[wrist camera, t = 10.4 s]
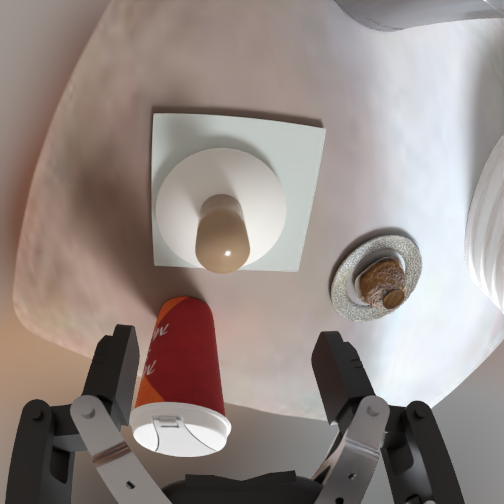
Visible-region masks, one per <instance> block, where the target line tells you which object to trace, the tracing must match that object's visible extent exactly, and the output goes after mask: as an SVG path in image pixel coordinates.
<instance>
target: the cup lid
mask: <svg viewBox="0 0 504 504" xmlns="http://www.w3.org/2000/svg"><path fill="white" fill-rule="evenodd" d="M286 212H287V207H286V198H285V194H284V191H283V188H282V186H281V184H280V182H279V180H278V178H277V177H276V175H275V174H274V173H273V171H272V170H271V169H270V168H269V167H268V165H267V164H266V163H264V162H263V161H262V160H261V159H259V158H258V157H256V156H254V155H253V154H251V153H248V152H246V151H243V150H240V149H236V148H230V147H214V148H207V149H204V150H200V151H197V152H195V153H193V154H191V155H189V156H187V157H186V158H184V159H183V160H181V161H180V162H179V163H178V164H177V165H176V166H175V167H174V168H173V169H172V170H171V171H170V172H169V174H168V175H167V176H166V178H165V180H164V182H163V184H162V186H161V187H160V190H159V193H158V196H157V201H156V220H157V225H158V228H159V231H160V233H161V236H162V237H163V239H164V241H165V242H166V244H167V245H168V246H169V248H170V249H171V250H172V251H173V252H174V253H175V254H176V255H178V256H179V257H180V258H182V259H183V260H185V261H186V262H188V263H190V264H192V265H195V266H198V267H201V268H205V269H207V270H209V271H211V272H215V273H230V272H233V271H235V270H237V269H239V268H240V267H243V266H246V265H248V264H250V263H252V262H254V261H256V260H258V259H259V258H261V257H262V256H263V255H264V254H266V253H267V252H268V251H269V250H270V249H271V248H272V247H273V245H274V244H275V243H276V241H277V240H278V238H279V236H280V235H281V232H282V230H283V227H284V224H285V220H286Z"/></svg>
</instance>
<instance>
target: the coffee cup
mask: <svg viewBox="0 0 504 504" xmlns="http://www.w3.org/2000/svg"><path fill="white" fill-rule="evenodd" d="M129 423H130V425H131V427H132V429H133V436H134V438H135V439H136V441H137V442H139V443H140V444H141V445H142V446H144V447H146V448H147V449H150V450H152V451H156V452H159V453H162V454H167V455H172V456H182V457H195V456H203V455H208V454H211V453H214V452H217V451H219V450H220V449H222V448H223V447H224V445H225V443H226V440H227V436H228V435H229V433H230V430H231V424H230V422H229V421H228V419H227V418H226V417H225V410H224V402H223V395H222V387H221V379H220V370H219V362H218V353H217V345H216V336H215V328H214V320H213V315H212V312H211V310H210V308H209V307H208V306H207V305H206V304H205V303H204V302H202V301H201V300H199V299H196V298H193V297H188V296H180V297H175V298H172V299H170V300H168V301H167V302H165V303H164V305H163V306H162V308H161V310H160V312H159V315H158V318H157V321H156V325H155V328H154V332H153V335H152V339H151V343H150V347H149V351H148V354H147V358H146V362H145V366H144V371H143V375H142V379H141V384H140V388H139V392H138V397H137V401H136V405H135V409H134V410H133V411H132V412H131V413H130V418H129Z"/></svg>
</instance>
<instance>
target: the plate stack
mask: <svg viewBox="0 0 504 504" xmlns="http://www.w3.org/2000/svg"><path fill="white" fill-rule="evenodd" d="M464 252H465V263H466V268H467V271H468V274H469V276H470V278H471V279H472V280H473V282H474V283H475V284H476V285H477V286H478V287H480V288H481V290H482V291H483V292H484V293H485V294H486V295H487V296H488V297H489V298H490V299H491V300H492V301H493V303H494V304H495V305H496V306H497V307H498V308H500V309H501V311H502V313H503V314H504V134H503V135H502V137H501V138H500V139H499V141H498V142H497V143H496V145H495V147H494V148H493V150H492V152H491V154H490V155H489V157H488V159H487V161H486V163H485V166H484V168H483V170H482V173H481V175H480V178H479V180H478V183H477V186H476V189H475V192H474V195H473V199H472V202H471V206H470V210H469V215H468V220H467V225H466V233H465V246H464Z"/></svg>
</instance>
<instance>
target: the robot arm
mask: <svg viewBox="0 0 504 504" xmlns="http://www.w3.org/2000/svg"><path fill="white" fill-rule="evenodd" d="M336 2H337V3H338V4H339V6H340V7H341V8H342V9H343V10H344V11H345V12H346V13H347V14H348V15H350V16H351V17H352V18H353V19H355V20H356V21H358V22H359V23H361V24H363V25H365V26H367V27H370V28H372V29H376V30H380V31H396V30H402V29H406V28H411V27H416V26H423V25H429V24H435V23H442V22H450V21H459V20H470V19H486V18H504V0H336ZM94 354H95V355H94V356H93V359H92V363H91V366H90V369H89V372H88V376H87V379H86V383H85V386H84V390H83V393H82V395H81V396H80V397H78V398H77V399H75V400H74V401H73V403H72V404H69V405H63V406H52V407H50V406H49V405H48V404H47V403H46V402H45V401H43V400H39V399H36V400H31V401H29V402H28V403H27V404H26V405H25V406H24V408H23V410H22V414H21V418H20V422H19V426H18V430H17V434H16V438H15V443H14V448H13V452H12V458H11V463H10V469H9V476H8V484H7V490H6V500H5V504H71V491H72V477H73V467H74V458H75V451H85V450H88V451H89V452H90V454H91V456H92V458H93V463H94V465H95V467H96V469H97V470H98V472H99V474H100V475H101V477H102V479H103V480H104V482H105V484H106V485H107V487H108V488H109V490H110V491H111V493H112V494H113V496H114V497H115V499H116V500H117V501H118V503H119V504H360V503H361V500H362V499H363V497H364V494H365V492H366V490H367V488H368V485H369V483H370V481H371V478H372V476H373V473H374V471H375V468H376V465H377V463H378V460H379V456H380V454H379V453H377V450H378V447H379V448H380V450H381V453H382V457H383V460H384V464H385V468H386V472H387V475H388V479H389V483H390V487H391V491H392V495H393V499H394V503H395V504H465V503H464V499H463V496H462V493H461V489H460V486H459V483H458V480H457V477H456V474H455V471H454V468H453V465H452V463H451V460H450V457H449V454H448V451H447V449H446V446H445V443H444V441H443V438H442V436H441V433H440V430H439V428H438V425H437V423H436V420H435V418H434V416H433V413H432V411H431V409H430V407H429V406H428V405H427V404H426V403H424V402H422V401H413V402H411V403H410V404H409V405H408V406H407V407H400V406H391V405H388V404H387V402H386V401H385V400H384V399H382V398H380V397H378V396H376V395H375V393H374V390H373V388H372V386H371V383H370V381H369V378H368V376H367V374H366V371H365V369H364V368H363V365H362V362H361V361H360V358H359V355H358V353H357V351H356V349H355V348H354V347H353V346H352V345H351V344H350V343H349V342H343V339H342V337H341V335H340V333H339V332H338V331H324V332H321V333H320V335H319V337H318V340H317V343H316V345H315V348H314V350H313V353H312V358H311V362H312V368H313V371H314V374H315V378H316V381H317V384H318V388H319V391H320V395H321V398H322V401H323V405H324V408H325V412H326V415H327V419H328V422H329V425H336V424H338V426H339V431H338V432H337V434H336V436H335V439H334V440H333V442H332V444H331V446H330V448H329V450H328V452H327V454H326V456H325V458H324V460H323V462H322V464H321V465H320V466H319V468H318V469H317V471H316V472H315V473H314V475H313V476H312V478H311V479H308V478H305V477H301V476H296V474H295V471H286V472H276V473H268V474H265V475H261V476H258V477H255V478H251V479H248V480H244V481H239V480H233V479H228V478H223V477H218V476H214V475H189V474H186V476H185V478H186V479H184V480H179V481H175V482H173V483H170V484H168V485H166V486H164V487H163V488H161V489H160V488H159V487H158V486H157V485H156V483H155V482H154V481H153V479H152V478H151V477H150V476H149V474H148V473H147V472H146V470H145V469H144V467H143V466H142V465H141V463H140V462H139V461H138V459H137V458H136V456H135V455H134V453H133V452H132V450H131V449H130V447H129V446H128V445H127V443H126V442H125V440H124V439H123V437H122V436H121V434H120V428H121V425H126V426H128V425H129V418H130V411H131V405H132V399H133V393H134V387H135V381H136V376H137V370H138V365H139V357H140V354H139V346H138V341H137V336H136V331H135V327H134V326H131V325H120V324H117V325H116V327H115V330H114V333H113V336H108V335H105V336H104V337H103V338H102V339H101V340H100V341H99V343H98V344H97V347H96V350H95V353H94Z"/></svg>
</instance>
